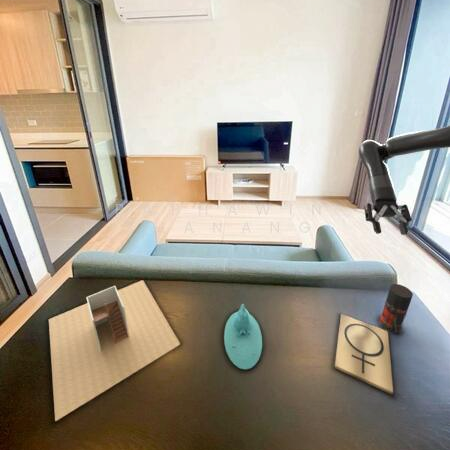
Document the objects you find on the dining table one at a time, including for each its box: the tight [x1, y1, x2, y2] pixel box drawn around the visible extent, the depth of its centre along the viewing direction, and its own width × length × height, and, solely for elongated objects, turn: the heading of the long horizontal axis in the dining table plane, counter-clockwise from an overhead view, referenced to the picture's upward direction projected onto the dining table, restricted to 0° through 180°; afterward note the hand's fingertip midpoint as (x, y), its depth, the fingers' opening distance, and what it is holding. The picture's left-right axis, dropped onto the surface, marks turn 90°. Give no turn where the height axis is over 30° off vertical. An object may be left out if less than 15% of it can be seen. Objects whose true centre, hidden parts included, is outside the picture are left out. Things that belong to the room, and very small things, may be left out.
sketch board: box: [334, 313, 394, 395], centre depth 75 cm, size 14×20×1 cm
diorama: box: [223, 303, 263, 370], centre depth 77 cm, size 12×20×9 cm, turn 0°
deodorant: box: [379, 283, 414, 334], centre depth 80 cm, size 6×6×15 cm
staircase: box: [85, 285, 130, 352], centre depth 77 cm, size 9×11×17 cm
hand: (391, 233), depth 83 cm, fingers open, 8 cm apart
